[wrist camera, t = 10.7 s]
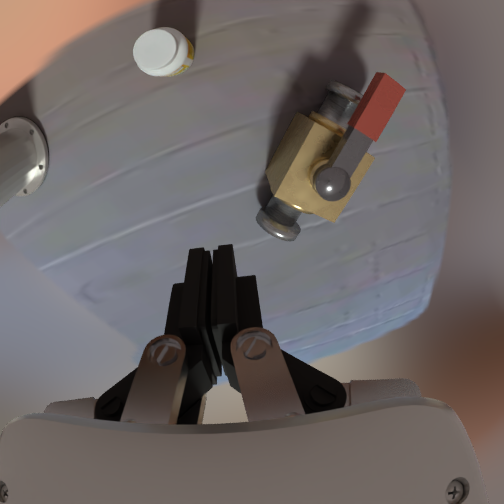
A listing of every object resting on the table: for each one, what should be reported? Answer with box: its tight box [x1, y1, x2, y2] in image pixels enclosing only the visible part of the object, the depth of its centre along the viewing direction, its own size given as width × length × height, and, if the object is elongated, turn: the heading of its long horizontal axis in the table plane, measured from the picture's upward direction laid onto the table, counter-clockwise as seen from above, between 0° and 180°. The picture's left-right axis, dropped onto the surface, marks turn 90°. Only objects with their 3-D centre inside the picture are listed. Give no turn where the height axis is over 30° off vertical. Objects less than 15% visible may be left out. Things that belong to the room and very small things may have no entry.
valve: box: [256, 80, 375, 241], centre depth 33 cm, size 20×8×9 cm, turn 155°
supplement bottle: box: [133, 27, 194, 76], centre depth 23 cm, size 5×5×10 cm
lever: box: [313, 72, 406, 201], centre depth 25 cm, size 14×4×2 cm, turn 154°
